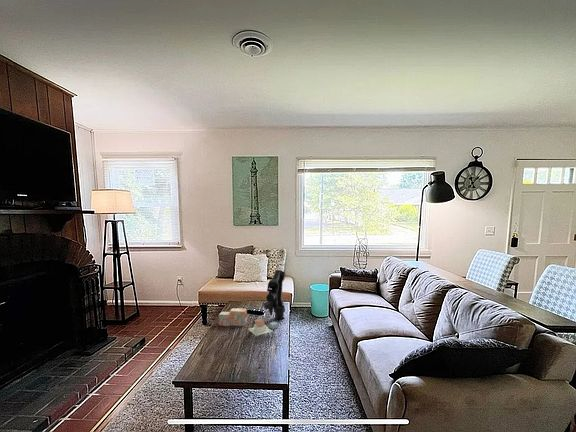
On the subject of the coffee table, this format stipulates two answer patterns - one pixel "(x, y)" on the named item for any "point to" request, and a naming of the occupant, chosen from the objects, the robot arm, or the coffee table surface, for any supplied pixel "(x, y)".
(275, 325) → the brick blue
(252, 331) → the baseplate
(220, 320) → the stack of blocks
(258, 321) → the brick terracotta
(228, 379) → the coffee table surface
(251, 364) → the coffee table surface
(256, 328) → the brick cream
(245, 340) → the coffee table surface
